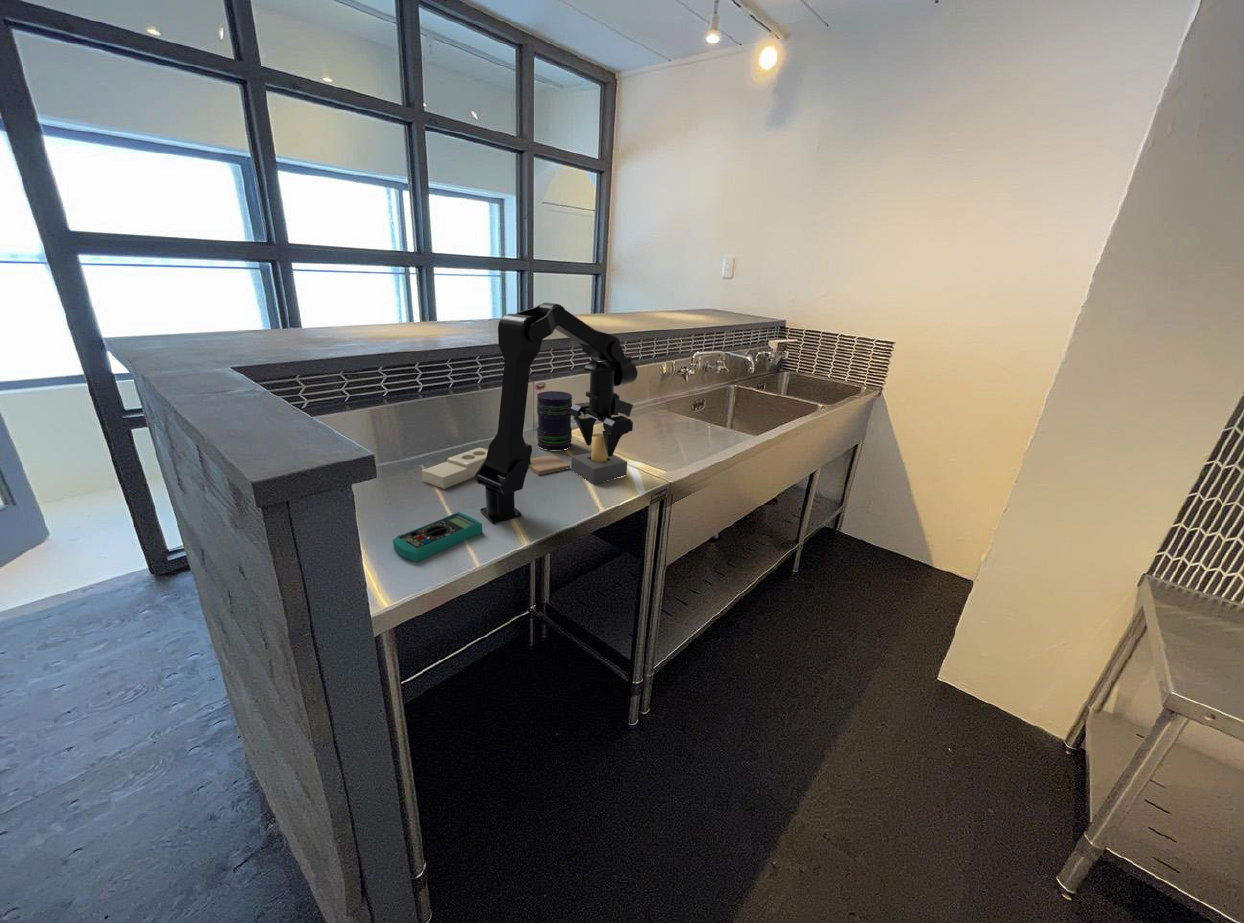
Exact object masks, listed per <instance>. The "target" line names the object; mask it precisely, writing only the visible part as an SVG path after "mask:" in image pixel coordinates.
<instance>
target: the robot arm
mask: <svg viewBox="0 0 1244 923" xmlns="http://www.w3.org/2000/svg"><path fill="white" fill-rule="evenodd" d="M555 330H556V331H558V332H559V333H561V334H563V335H564V336H566V337H568V338H569V339H571V340H572V341H574V342H575V343H577V344H579V345H580V346H581V350H582V351H583V353H585V354H586V355H587V356H588V357H589V358H591V360H590V361H589V362H588V363H587V364H586V365H585V366H584V368H583V370H584V371H586V372H589V391H585V396H586V398H587V397H588V398H589V401H587V402H580V403H572V407H571V417H572V418H573V419H572V420H574V421H575V423H576V425H577V426H578V430H579V431H580V433H581V435H582V437H583V440H584V442H585V444H586V446H588V447H589V446H592V435H594V427H595V426H594V425H595V423H596V422H597V421H599V422H601V423H602V427H603V430H602V434H603V437H604V441H605V446H606V451H607V455H608V456H609V457H611V456H613V455H614V453H615V450H616V449H617V446H618V443H619V442H620V440H621V438H622V437H623V436H624V435H625V434H628V433H629V432H633V429H634V422H633V420H632V419H630V416H631V413H632V411H633V410H632V409H633V408H634V404H633V403H630V402H626V401H624V400H621V399H620V395H618V393H615V387H618V386H619V387H620V386H624V385H629V384H631V383H634V382H635V381H636V379H637V377H638V369H637V366H636V365H635V363H634V362H633V360H632V358H633V357H632V356H628V355H625V353H624V352H625V351H624V349H623V348H622V345H621V341H620V339H619V337H618V336H616V335H612V334H610V333H606V332H602V331H599V330H596V329H595V328H593V327H591V326H590V325H589V324H588V323H586V322H584V321H583V320H581V319H579V318H578V317H577V316H575V315H574V314H573V313H571V312H569V311H568V310H567V309H565V307H564V306H563V305H561V304H559V303H552V302H543V303H541V304H538V305H537V306H535V307H532V308H528V309H524V310H521V311H518V312H516V313H507V314H505V315H504V316H503V317H502V318H500V319H499V322H498V326H497V339H498V342H497V343H498V346H499V350H500V352H501V355H502V357H503V362H504V363H503V364H504V365H503V371H502V372H503V373H502V374H503V375H502V386H501V393H500V403H499V404H500V405H499V415H498V423H497V424H498V425H497V433H496V435H494V437H493V439H492V440H491V442H489V445H488V448H487V450H488V452H487V456H486V459H485V461H484V462H483V464H482V465H481V467H480V468H479V470H478V471H477V473H476V474H475V477H474V478H475V480H476V483H477V484H479V485H482V486H484V487H485V488H484V490H485V504H486V505H485V506H486V507H483V508H482V507H481V508H480V509H479V510H480V513H482V514H483V516H485V518H486V519H488V520H489V522H490V523H492V524H494V523H499V522H503V521H506V520H510V519H513V518H514V519H515V518H518V517H521V516H522V511H520V510H518V508H516V504H515V503H516V499H515V497H516V495H515V492H518V491H520V490H522V489H524V484H525V479H526V477H527V476H526V475H527V473H528V470H529V468H528V467H529V465H531V459H532V458H531V457H532V452H533V445H531V444H528V443H527V442H525V438H524V426H525V418H526V409H527V398H528V393H529V392H528V391H529V390H528V388H529V382H530V372H531V365H532V363H533V361H534V360H535V359H536V358H537V356H538V355H539V353H540V351H541V347H542V342H543V340H544V339H546V338H547V337H549V336H550V335H552V334H553V333H554V331H555ZM592 359H595V360H592ZM619 414H622V415H619ZM623 415H624V416H623ZM625 416H626V417H625ZM628 417H629V418H628Z"/></svg>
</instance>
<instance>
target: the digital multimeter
mask: <svg viewBox="0 0 1244 923" xmlns="http://www.w3.org/2000/svg"><path fill="white" fill-rule="evenodd" d="M482 533H483V523H481V522H480V521H479V520H477V519H475V518H473V517H471V516H469V515H467V514H464V513H461V512H460V511H457V512H454V513H453V514H450V515H448V516H446V517H443V518H440V519H438V520H436V521H433V522H431V523H428V524H427V525H423V526H420V527H418V528H416V529H413V530H411V531H408V532H405V533H403V534H400V535H397V536H396V537H395V538H393V539H392V544H393V549H394V550H395V552H396V553H397V554H398V555H399V556H400V557H402V558H404V559H406V560H410V561H411V562H415V563H419V562H421V561H422V560H425V559H427V558H429V557H431V556H433V555H436V554H437V553H440V552H443V551H444V550H446V549H448V548H450V547H452V546H455V545H457V544H459V543H462V542H464V541H467V540H469V539H471V538H474V537H476V536H478V535H481V534H482Z"/></svg>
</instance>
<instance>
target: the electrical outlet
mask: <svg viewBox="0 0 1244 923" xmlns="http://www.w3.org/2000/svg"><path fill="white" fill-rule="evenodd" d="M487 452H488V448H482V447H476V448H474V449H471V450H468V451H466V452H465V451H464V452H462V453H459V454H456V455H453V456H450V457H448V458H447V460H446V461H444V462H442V463H439V464H437V465H433V466H430V467H427V468H425V469H422V470H421V475H422V477H421V478H422V482H424V483H427V484H429V485H432V486H434V487H435V486H436V487H437V488H441V489H443V490H445V489H448V488H450V487H452V486H456V485H457V484H459V483H462V482H465V481H467V480H470V479H472V478H475V474H476V473H477V471H478V470H479V468H480V467H481V465H482V464H483V462H484V461H485V459H486V456H487Z"/></svg>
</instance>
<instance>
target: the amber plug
mask: <svg viewBox="0 0 1244 923" xmlns="http://www.w3.org/2000/svg"><path fill="white" fill-rule="evenodd" d="M590 453H591V461H593V462H595V463H602V462H606V461H607V451H606V446H605V441H604V437H603V433H595V434H594V433H593V435H592V443H591V451H590Z"/></svg>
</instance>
